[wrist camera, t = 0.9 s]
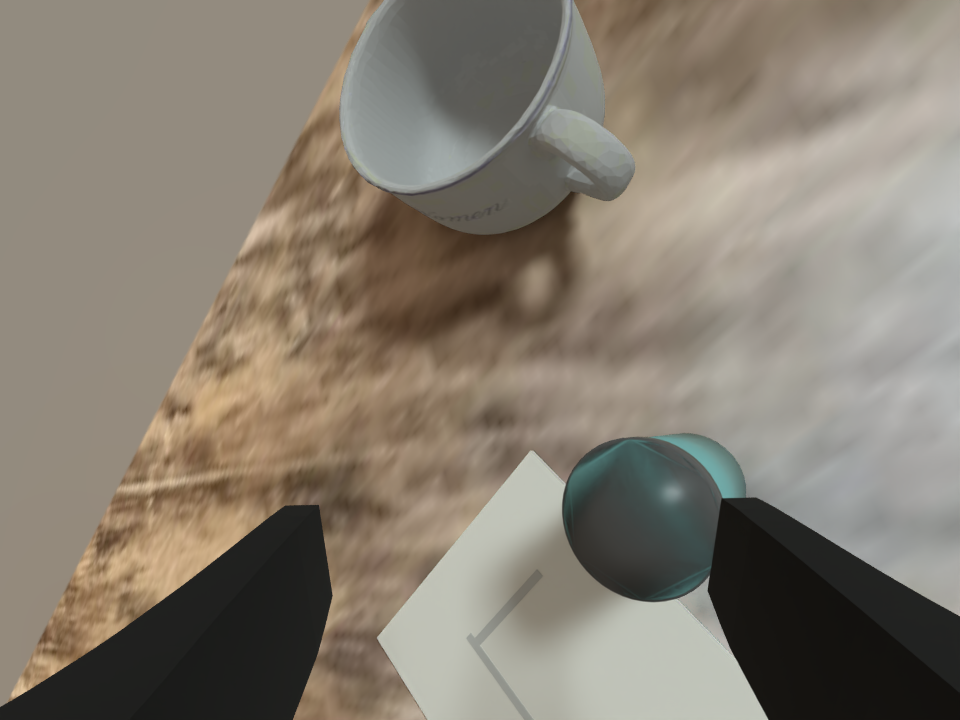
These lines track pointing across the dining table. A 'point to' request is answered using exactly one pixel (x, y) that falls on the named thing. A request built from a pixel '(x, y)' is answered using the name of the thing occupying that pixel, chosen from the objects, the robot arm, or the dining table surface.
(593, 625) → the paper pad
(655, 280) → the dining table surface
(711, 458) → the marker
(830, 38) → the dining table surface
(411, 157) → the teacup
